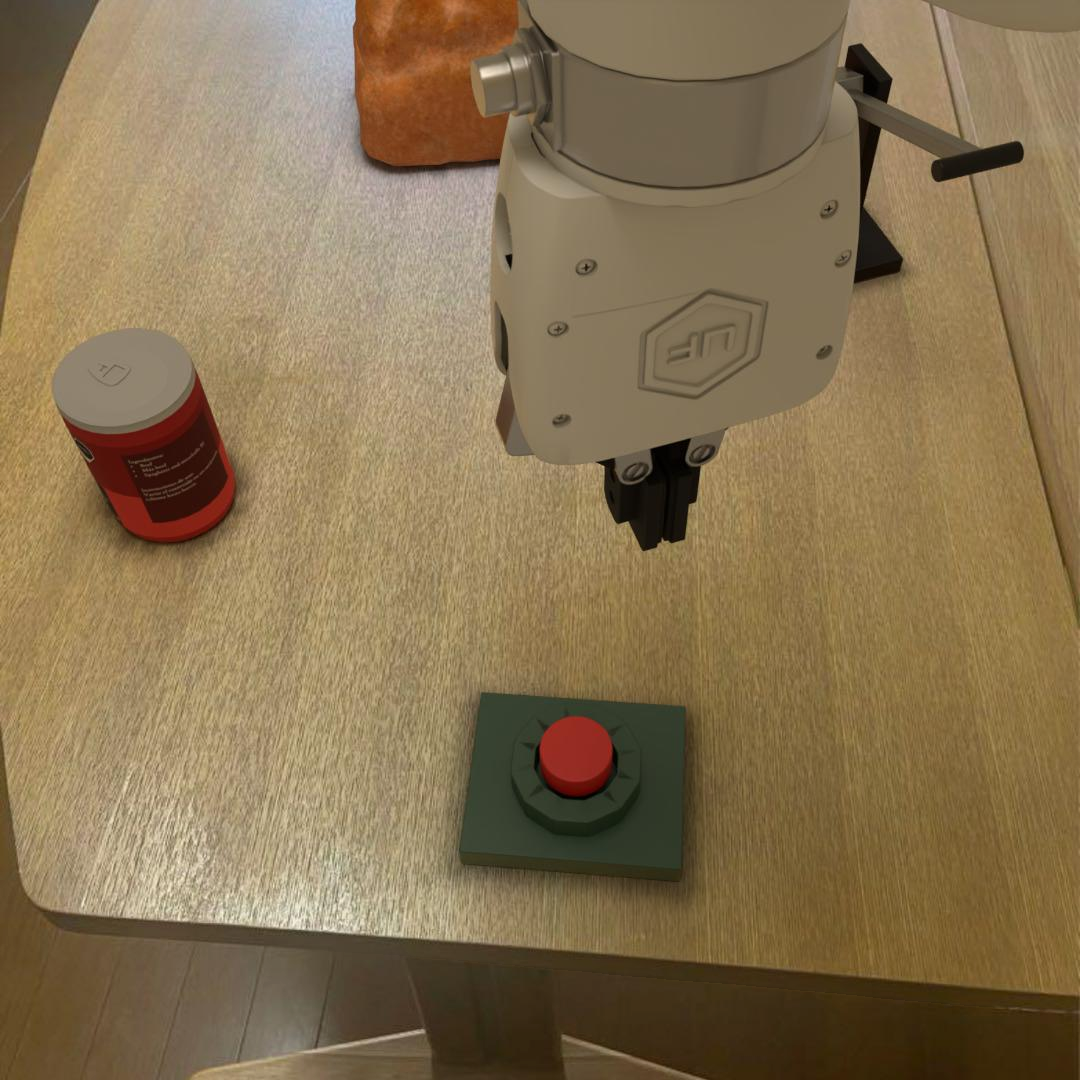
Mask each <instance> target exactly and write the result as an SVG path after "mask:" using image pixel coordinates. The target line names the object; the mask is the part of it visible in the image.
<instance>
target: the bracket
mask: <svg viewBox="0 0 1080 1080" xmlns="http://www.w3.org/2000/svg"><path fill="white" fill-rule="evenodd" d="M844 62H845V63H844V66H843V67H845V68H848V69H850V70H852V71H854V72H856V73H859V74H861V75H863V76H864V77H863V93H865V94H867V95H870V96H872V97H874V98H876V99H878V100H880V101H882V102H884V103H887V104H888V101H889V97H890V93H891V89H892V85H893V79H894V78H893V76H892V75H890V74H889V73H888V71H887V69H885V68H884V66H882V65H881V63H880V62H879V61H878V60H877V58H875V57H874V55H873V54H872V53H871V51H869V50H868V49H867V48H866V47H865V45H864V44H863V43H861V42H860V43H856V44H851V45H848V47H847V51H846V55H845V61H844ZM858 125H859V145H860V220H859V236H858V247H857V257H856V265H855V274H854V283H853V284H856V283H859V282H862V281H866V280H870V279H875V278H878V277H883V276H887V275H891V274H894V273H898V272H900V271H901V269H902V266H903V263H904V257H903V256H902V255H901V253H900V252H899V251H898V249H897V248H896V247H895V246H894V244H893V243H892V241H890V239H889V238H888V236H886V234H885V233H884V231H883V230H882V229H881V228H880V226H879V225H878V224H877V222H876V221H875V220H874V219H873V217H872V215H871V214H870V213H869V211H867V209H866V208H865V201H866V197H867V193H868V188H869V184H870V180H871V175H872V171H873V166H874V162H875V158H876V153H877V150H878V145H879V141H880V136H881V132H882V128H880V127H878V126H876V125H874V124H872V123H870V122H868V121H866V120H865V119H863V118H861V117H859V116H858Z"/></svg>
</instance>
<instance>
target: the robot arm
mask: <svg viewBox="0 0 1080 1080" xmlns="http://www.w3.org/2000/svg"><path fill="white" fill-rule="evenodd" d="M921 1H922V2H924V3H927V4H928V5H929V4H930V5H932V6H935V7H937V8H939V9H942V10H944V11H946V12H949V13H952V14H954V15H955V16H959V17H962V18H964V19H967V20H970V21H973V22H978V23H981V24H985V25H989V26H992V27H997V28H1000V29H1004V30H1005V29H1006V30H1011V31H1017V32H1018V31H1019V32H1033V33H1044V34H1045V33H1047V34H1053V33H1054V34H1055V33H1056V34H1057V33H1058V34H1062V33H1071V32H1079V31H1080V0H921ZM850 4H851V0H518V19H519V29H516V30H515V34H514V39H513V44H512V45H508V46H503V47H501V48H500V49H499V53H498V54H494V55H489V56H484V57H479V58H475V59H472V60H471V64H470V73H471V81H472V88H473V92H474V97H475V100H476V104H477V107H478V109H479V112H480V114H481V115H482V116H483V118H484V117H488V116H493V115H498V114H502V113H507V112H510V115H509V119H508V124H507V128H506V133H505V137H504V142H503V148H502V154H501V159H499V160H500V161H499V164H498V165H499V166H498V172H497V180H496V186H495V196H494V205H493V212H492V213H493V215H492V228H491V242H490V274H489V276H490V277H489V279H490V280H489V289H490V290H489V305H490V307H489V309H490V311H489V313H490V334H491V342H492V343H491V345H492V350H493V357H494V361H495V363H496V367H497V370H499V372H500V373H501V374H502V375H503V376H505V379H504V382H503V383H504V384H503V387H502V392H501V395H500V400H499V403H498V407H497V412H496V416H495V423H494V424H495V427H496V430H497V433H498V434H499V437H500V439H501V442H502V445H503V447H504V450H505V452H506V453H507V455H509V456H511V457H527V456H534V457H536V458H537V459H538V460H539V461H541V462H544V463H546V464H550V465H556V466H579V465H586V464H593V463H595V464H598V465H601V466H603V467H604V468H603V469H604V470H603V472H604V474H603V491H604V497H605V498H604V499H605V502H606V505H607V508H608V510H609V512H610V514H611V517H612V519H613V521H614V522H615V524H617V525H621V524H624V523H627V522H628V524H629V526H630V529H631V531H632V533H633V535H634V537H635V539H636V541H637V543H638V545H639V547H640V549H641V551H642V552H647V551H650V550H654V549H657V548H658V547H659V544H661V543H662V542H668V543H669V544H675V543H678V542H682V541H685V540H686V534H687V526H688V518H689V508H690V505H692V504H693V505H694V504H696V503H697V501H698V494H699V488H700V487H699V486H700V480H701V479H700V477H701V470H702V466H705V465H706V464H709V463H710V462H711V461H712V460H714V459H715V458H716V457H717V455H718V453H719V451H720V448H721V445H722V443H723V439H724V436H725V433H726V431H727V430H728V429H729V428H731V427H735V426H739V425H742V424H746V423H750V422H753V421H757V420H761V419H764V418H767V417H771V416H774V415H777V414H781V413H784V412H786V411H789V410H792V409H794V408H797V407H799V406H801V405H804V404H805V403H808V402H809V401H811V400H813V399H814V398H816V397H817V396H819V395H820V394H821V393H823V392H824V390H825V389H826V388H827V387H828V386H829V385H830V383H831V381H832V380H833V378H834V376H835V373H836V372H837V371H836V370H837V368H838V366H839V363H840V359H841V356H842V350H843V345H844V343H845V336H846V333H847V326H848V322H849V316H850V310H851V304H852V303H851V302H852V298H853V291H854V284H855V283H854V274H855V265H856V257H857V247H858V236H859V220H860V145H859V125H858V112H857V108H856V105H855V103H854V101H853V99H852V98H851V96H850V95H849V94H848V93H847V91H846V90H845V89H844V88H843V87H842V86H840V85H839V84H838V83H837V82H836V81H835V79H836V74H837V68H838V67H839V63H840V57H841V51H842V46H843V42H844V35H845V31H846V26H847V19H848V14H849V9H850Z"/></svg>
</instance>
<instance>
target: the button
mask: <svg viewBox="0 0 1080 1080" xmlns="http://www.w3.org/2000/svg"><path fill="white" fill-rule="evenodd" d="M612 753H613V747H612V742H611V739H610V736H609V734H608V733H607V731H606V730H605V729H604V728H603V727H602V726H601V725H600V724H599V723H597V722H596V721H594V720H592V719H589V718H586V717H580V716H572V717H566V718H563V719H560V720H558V721H556V722H555V723H553V724H552V725H551V726H550V727H549V728H548V729H547V730H546V731H545V733H544V734H543V736H542V739H541V742H540V765H541V771H542V774H543V777H544V779H545V780H546V782H547V783H548V784H549V785H550V786H551V787H552V788H553V789H554V790H556V791H558V792H559V793H562V794H564V795H568V796H585V795H588V794H591V793H593V792H595V791H597V790H598V789H600V788H601V787H602V786H603V785H604V784H605V782H606V781H607V780H608V778H609V776H610V773H611V769H612Z"/></svg>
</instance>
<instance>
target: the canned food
mask: <svg viewBox="0 0 1080 1080" xmlns="http://www.w3.org/2000/svg"><path fill="white" fill-rule="evenodd" d="M51 393H52V397H53V400H54V403H55V406H56V409H57V410H58V413H59V414H60V416H61V418H62V421H63V423H64V425H65V426H66V428H67V430H68V433H69V435H70V437H71V438H72V441H74V444H75V446H76V447H77V449H78V451H79V453H80V455H81V457H82V458H83V461H84V463H85V464H86V466H87V468H88V470H89V472H90V473H91V476H92V477H93V480H94V481H95V483H96V485H97V487H98V490H99V491H100V493H101V494H102V496H103V498H104V500H105V502H106V504H107V505H108V507H109V508H108V509H110V512H111V513H112V515H113V516H114V518H115V519H116V521H117V522H118V523H120V525H122V526H123V527H124V528H125V529H126V530H128V531H129V532H130V533H132V534H134V535H135V536H137V537H139V538H140V539H144V540H147V541H151V542H158V543H176V542H181V541H187V540H189V539H192V538H196V537H198V536H200V535H202V534H204V533H206V532H208V531H209V530H210V529H212V528H214V527H215V526H216V525H217V524H219V522H220V521H221V520H222V519H224V518H225V516H226V514H227V513H228V511H229V510H230V509H231V505H232V503H233V501H234V496H235V488H236V486H235V485H236V479H235V472H234V469H233V467H232V464H231V461H230V458H229V455H228V453H227V450H226V447H225V444H224V442H223V439H222V436H221V434H220V431H219V428H218V425H217V422H216V420H215V417H214V414H213V412H212V409H211V406H210V404H209V401H208V397H207V395H206V392H205V390H204V387H203V384H202V381H201V379H200V376H199V373H198V371H197V369H196V366H195V363H194V361H193V359H192V357H191V356H190V353H189V352H188V350H187V349H186V347H185V346H184V345H183V344H182V343H181V342H180V341H178V340H177V338H175V337H173V336H171V335H169V334H167V333H165V332H163V331H159V330H155V329H151V328H142V327H130V328H129V327H128V328H127V327H126V328H120V329H119V328H118V329H114V330H109V331H105V332H102V333H99V334H97V335H95V336H92V337H90V338H88V339H86V340H84V341H83V342H81V343H79V344H78V345H76V346H75V347H74V348H73V349H72V350H70V351H69V352H68V353H67V354H66V355H65V356H64V357H63V358H62V360H61V361H60V362H59V363H58V365H57V367H56V369H55V371H54V373H53V377H52V380H51Z"/></svg>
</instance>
